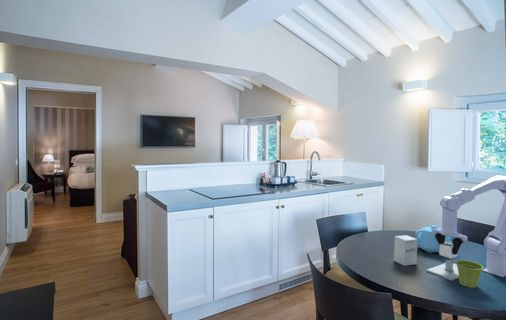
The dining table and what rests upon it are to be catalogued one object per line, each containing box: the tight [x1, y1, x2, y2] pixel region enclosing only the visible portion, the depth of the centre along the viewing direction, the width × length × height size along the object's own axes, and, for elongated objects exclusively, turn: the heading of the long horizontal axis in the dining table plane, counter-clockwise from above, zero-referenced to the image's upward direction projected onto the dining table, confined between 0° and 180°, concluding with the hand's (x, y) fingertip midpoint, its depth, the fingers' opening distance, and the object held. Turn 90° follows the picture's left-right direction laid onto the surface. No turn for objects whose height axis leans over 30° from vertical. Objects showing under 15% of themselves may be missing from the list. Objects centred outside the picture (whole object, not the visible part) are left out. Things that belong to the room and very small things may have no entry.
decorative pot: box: [414, 225, 453, 254], centre depth 168 cm, size 16×16×14 cm
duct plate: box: [426, 260, 459, 281], centre depth 141 cm, size 18×11×5 cm, turn 119°
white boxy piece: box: [438, 242, 458, 259], centre depth 141 cm, size 5×5×5 cm
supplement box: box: [393, 234, 418, 267], centre depth 151 cm, size 7×7×13 cm
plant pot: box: [455, 259, 484, 289], centre depth 128 cm, size 9×9×9 cm
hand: (448, 252), depth 141 cm, fingers closed on white boxy piece, 5 cm apart
